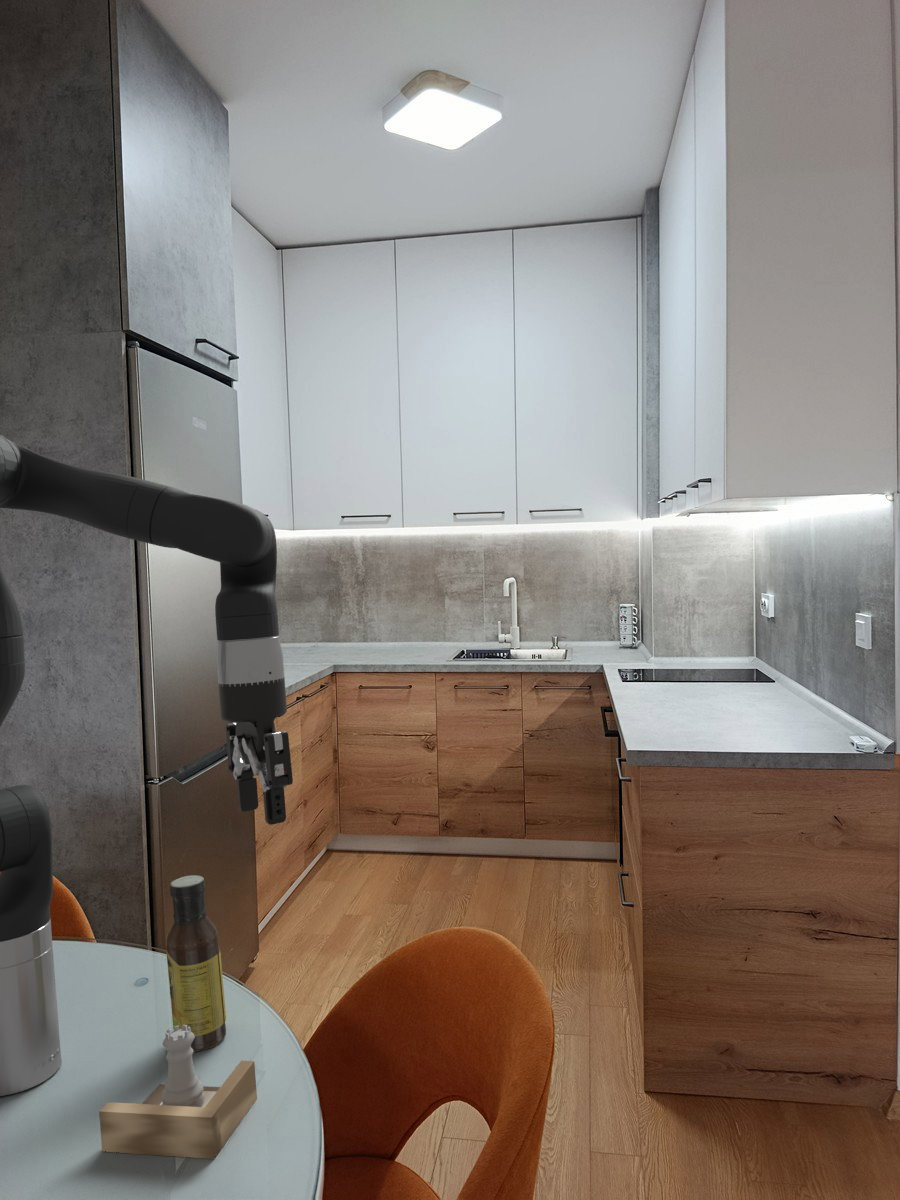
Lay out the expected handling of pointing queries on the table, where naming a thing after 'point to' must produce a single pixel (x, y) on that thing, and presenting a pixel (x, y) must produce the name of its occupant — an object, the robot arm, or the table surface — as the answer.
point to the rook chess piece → (181, 1070)
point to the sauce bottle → (195, 966)
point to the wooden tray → (180, 1120)
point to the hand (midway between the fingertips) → (261, 816)
